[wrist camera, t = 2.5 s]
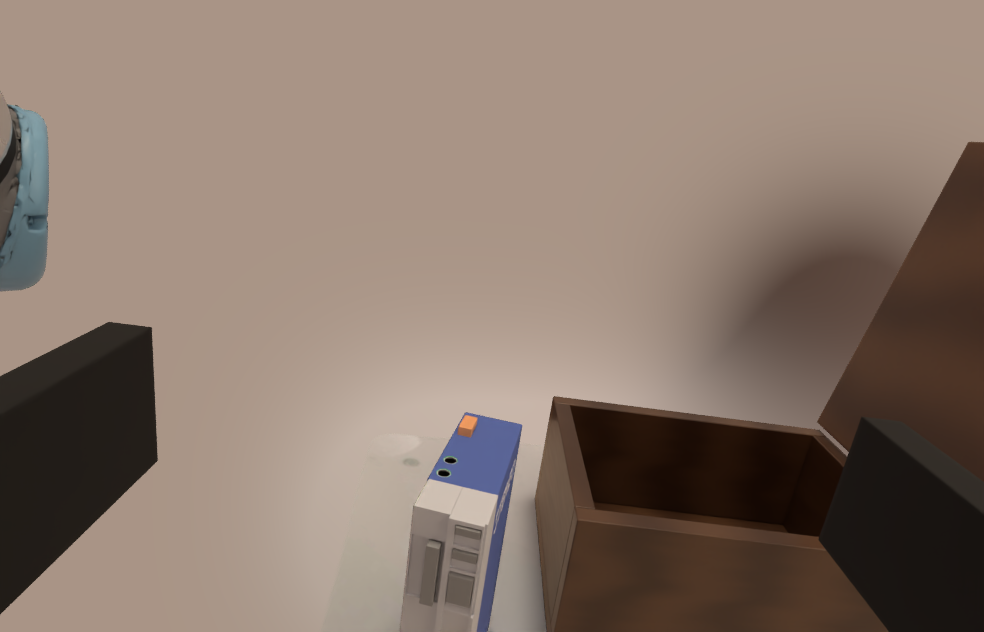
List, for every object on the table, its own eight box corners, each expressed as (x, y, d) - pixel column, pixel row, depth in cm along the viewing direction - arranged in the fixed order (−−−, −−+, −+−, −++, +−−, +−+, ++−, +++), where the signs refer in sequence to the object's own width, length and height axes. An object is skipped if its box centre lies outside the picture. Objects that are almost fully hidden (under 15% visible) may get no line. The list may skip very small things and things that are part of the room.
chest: (548, 655, 30) (577, 519, 27) (534, 498, 42) (553, 395, 40) (903, 696, 30) (962, 566, 28) (786, 529, 42) (819, 429, 40)
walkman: (437, 610, 31) (465, 404, 28) (489, 624, 31) (524, 417, 27) (381, 755, 24) (408, 501, 20) (448, 776, 24) (488, 520, 20)
